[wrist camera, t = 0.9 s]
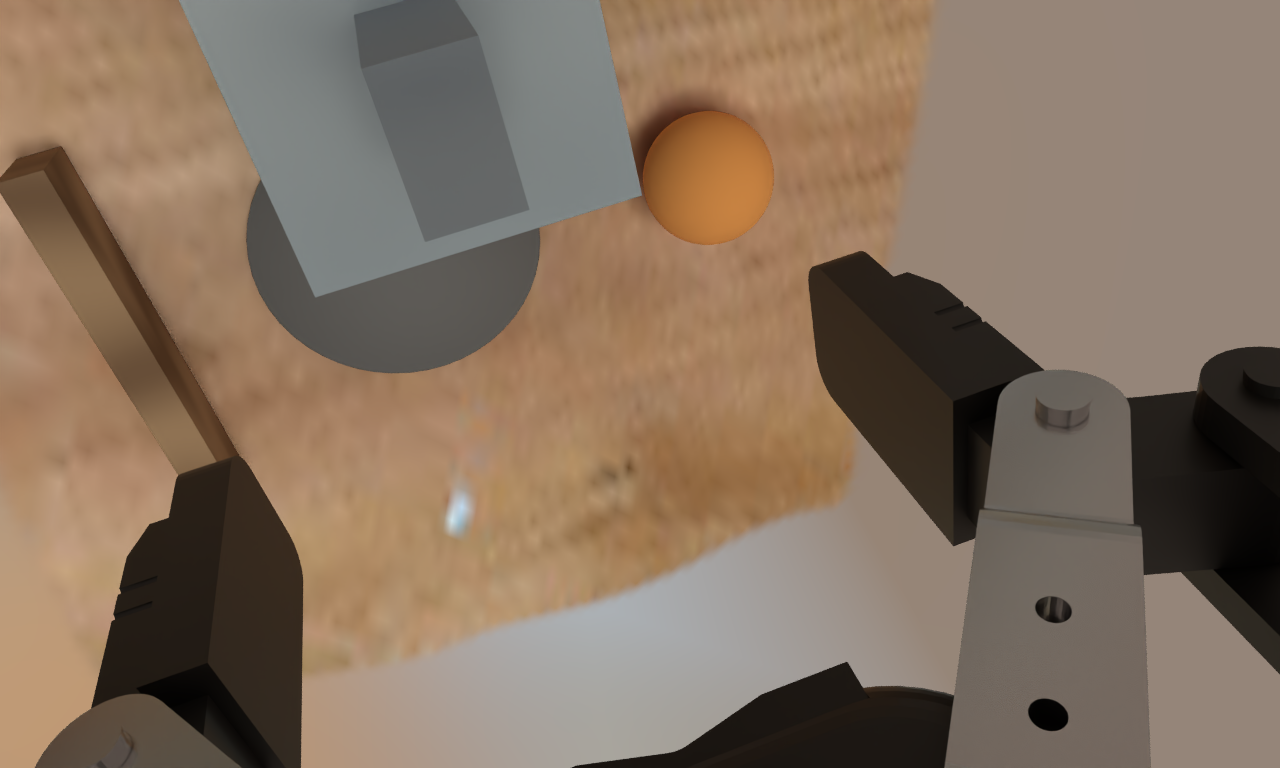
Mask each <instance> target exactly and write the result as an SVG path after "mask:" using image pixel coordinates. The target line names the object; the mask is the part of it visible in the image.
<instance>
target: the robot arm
mask: <svg viewBox="0 0 1280 768" xmlns="http://www.w3.org/2000/svg"><path fill="white" fill-rule="evenodd" d="M808 281H809V292H810V301H811V311H812V320H813V329H814V339H815V348H816V357H817V363H818V367H819V371H820V374H821V377H822V379H823V382H824V384H825V386H826V388H827V390H828V392H829V394H830V395H831V397H832V398H833V400H834V401H835V402H836V403H837V405H838V406H839V407H840V408H841V409H842V411H843V412H844V413H845V414H846V416H847V417H848V418H849V419H850V420H851V422H852V423H853V424H854V425H855V427H856V428H857V429H858V430H859V431H860V433H861V434H862V435H863V436H864V438H865V439H866V440H867V441H868V442H869V444H870V445H871V446H872V447H873V449H874V450H875V451H876V452H877V453H878V455H879V456H880V457H881V458H882V459H883V461H884V462H885V463H886V464H887V466H888V467H889V468H890V469H891V471H892V472H893V473H894V474H895V475H896V477H897V478H898V479H899V480H900V482H902V484H903V485H904V486H905V488H906V489H907V490H908V491H909V493H910V494H911V495H912V496H913V497H914V499H915V500H916V501H917V502H918V504H919V505H920V506H921V507H922V508H923V510H924V511H925V512H926V513H927V514H928V515H929V517H930V518H931V519H932V521H933V522H934V523H935V524H936V525H937V527H938V528H939V529H940V530H941V531H942V533H943V534H944V535H945V536H946V538H947V539H948V540H949V541H950V542H951V544H952V545H953V546H956V545H958V544H961V543H963V542H966V541H969V540H972V539H974V538H975V545H974V552H973V560H972V567H971V575H970V582H969V590H968V597H967V604H966V612H965V619H964V627H963V634H962V641H961V649H960V657H959V664H958V672H957V679H956V687H955V694H954V695H951V694H947V693H944V692H939V691H933V690H929V689H924V688H915V687H903V686H875V687H867V688H863V687H862V686H861V684H860V682H859V681H858V679H857V677H856V676H855V674H854V672H853V671H852V669H851V667H850V666H849V664H848V662H845V663H842V664H840V665H837V666H835V667H832V668H829V669H827V670H824V671H822V672H819V673H817V674H814V675H811V676H809V677H806V678H803V679H801V680H798V681H796V682H793V683H790V684H788V685H785V686H783V687H780V688H777V689H775V690H772V691H770V692H767V693H764V694H762V695H760V696H759V697H758V698H756V699H754V700H753V701H751V702H750V703H748V704H747V705H745V706H744V707H743V708H741V709H740V710H738V711H737V712H735V713H734V714H732V715H731V716H730V717H728V718H727V719H725V720H724V721H722V722H721V723H720V724H718V725H716V726H715V727H714V728H712V729H711V730H709V731H708V732H706V733H705V734H703V735H702V736H701V737H699V738H698V739H696V740H695V741H693V742H692V743H690V744H689V745H687V746H686V747H684V748H682V749H680V750H678V751H675V752H671V753H666V754H658V755H651V756H644V757H637V758H629V759H622V760H615V761H607V762H600V763H592V764H585V765H579V766H574V767H572V768H1151V759H1150V732H1149V706H1148V680H1147V679H1148V678H1147V653H1146V625H1145V601H1144V599H1145V598H1144V575H1149V574H1161V573H1174V572H1181V573H1182V574H1183V575H1184V576H1185V577H1186V578H1187V579H1188V580H1189V581H1190V582H1191V583H1192V584H1193V585H1194V586H1195V587H1196V588H1197V589H1198V590H1199V591H1200V592H1201V593H1202V594H1203V595H1204V596H1205V597H1206V598H1207V599H1208V600H1209V602H1210V603H1211V604H1212V605H1213V606H1214V607H1215V608H1216V609H1217V610H1218V611H1219V612H1220V613H1221V614H1222V615H1223V616H1224V617H1225V618H1226V619H1227V620H1228V621H1229V622H1230V623H1231V624H1232V625H1233V626H1234V627H1235V628H1236V629H1237V631H1239V633H1240V634H1241V635H1242V636H1243V637H1244V638H1245V639H1246V640H1247V641H1248V642H1249V643H1250V644H1251V645H1252V646H1253V647H1254V648H1255V649H1256V650H1257V651H1258V652H1259V653H1260V654H1261V655H1262V656H1263V657H1264V658H1265V659H1266V660H1267V662H1268V663H1269V664H1270V665H1272V667H1273V668H1274V669H1275V670H1276V671H1277V672H1278V673H1279V674H1280V348H1273V347H1245V348H1237V349H1233V350H1229V351H1226V352H1223V353H1220V354H1218V355H1216V356H1214V357H1213V358H1211V359H1210V360H1209V361H1208V362H1206V363H1205V365H1204V366H1203V368H1202V369H1201V373H1200V377H1199V383H1198V388H1197V391H1191V392H1183V393H1173V394H1163V395H1154V396H1145V397H1133V398H1126V397H1125V396H1124V395H1123V393H1122V392H1121V391H1120V390H1119V389H1117V388H1116V387H1115V386H1114V385H1112V384H1110V383H1109V382H1107V381H1105V380H1103V379H1101V378H1099V377H1096V376H1093V375H1090V374H1087V373H1082V372H1078V371H1070V370H1046V371H1045V370H1044V369H1042V368H1041V367H1040V366H1039V365H1038V364H1037V363H1035V362H1034V361H1033V360H1032V359H1031V358H1029V357H1028V356H1027V355H1025V354H1024V353H1023V352H1022V351H1021V350H1019V349H1018V348H1017V347H1016V346H1015V345H1014V344H1012V343H1011V342H1010V341H1009V340H1008V339H1006V338H1005V337H1004V336H1003V335H1002V334H1000V333H999V332H998V331H997V330H995V329H994V328H993V327H992V326H990V325H989V324H988V323H987V322H982V320H981V317H980V316H979V315H977V314H976V313H975V312H974V311H972V310H971V309H970V308H969V307H968V306H966V307H964V305H963V302H962V301H960V300H959V299H958V298H957V297H956V296H954V295H953V294H952V293H951V292H950V291H948V290H947V289H946V288H945V287H943V286H942V285H941V284H939V283H936V282H934V281H931V280H928V279H925V278H922V277H920V276H917V275H914V274H911V273H908V272H906V273H903V274H900V275H897V276H894V277H893V276H892V275H891V274H890V273H889V272H888V271H887V270H885V269H884V268H883V267H882V266H881V265H880V264H879V263H877V262H876V261H875V260H874V259H873V258H872V257H871V256H870V255H868V254H867V253H866V252H863V251H859V252H856V253H853V254H850V255H847V256H844V257H841V258H838V259H835V260H832V261H829V262H826V263H823V264H819V265H816V266H814V267H812V268H811V269H810V271H809V279H808ZM119 589H120V591H121V594H119V595H118V597H117V601H116V605H115V609H114V614H113V615H114V617H115V620H113V621H112V622H111V626H110V631H109V635H108V639H107V643H106V648H105V652H104V656H103V660H102V665H101V669H100V673H99V677H98V682H97V686H96V690H95V695H94V699H93V703H92V707H91V709H90V710H88V711H87V712H85V713H84V714H82V715H81V716H79V717H78V718H77V719H75V720H74V721H73V722H71V723H70V724H69V725H68V726H67V727H66V728H65V729H63V730H62V731H61V732H60V733H59V734H58V735H57V737H56V738H55V739H54V740H53V741H52V742H51V743H50V744H49V746H48V747H47V749H46V750H45V751H44V752H43V754H42V756H41V757H40V759H39V761H38V762H37V764H36V767H35V768H301V713H302V711H301V710H302V637H303V574H302V568H301V564H300V560H299V557H298V554H297V551H296V548H295V545H294V543H293V541H292V539H291V537H290V535H289V533H288V532H287V530H286V528H285V526H284V525H283V523H282V521H281V520H280V518H279V516H278V515H277V513H276V511H275V509H274V508H273V506H272V504H271V503H270V501H269V499H268V498H267V496H266V494H265V492H264V491H263V489H262V487H261V486H260V484H259V482H258V481H257V479H256V477H255V475H254V474H253V472H252V470H251V469H250V467H249V466H248V464H247V463H246V462H245V460H244V459H243V458H241V457H240V456H233V457H230V458H227V459H224V460H221V461H218V462H215V463H211V464H208V465H205V466H202V467H199V468H196V469H193V470H190V471H187V472H184V473H181V474H180V475H178V477H177V479H176V483H175V488H174V493H173V498H172V504H171V509H170V514H169V518H167V519H164V520H161V521H158V522H155V523H152V524H149V526H148V527H147V529H146V530H145V532H144V533H143V535H142V536H141V537H140V539H139V540H138V542H137V543H136V545H135V546H134V547H133V549H132V550H131V552H130V553H129V555H128V556H127V558H126V563H125V567H124V571H123V575H122V580H121V584H120V588H119Z"/></svg>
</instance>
